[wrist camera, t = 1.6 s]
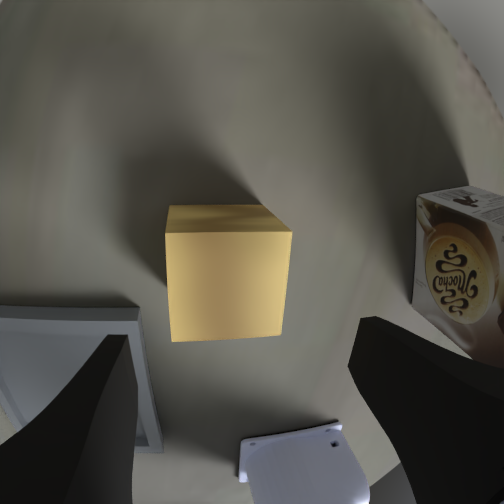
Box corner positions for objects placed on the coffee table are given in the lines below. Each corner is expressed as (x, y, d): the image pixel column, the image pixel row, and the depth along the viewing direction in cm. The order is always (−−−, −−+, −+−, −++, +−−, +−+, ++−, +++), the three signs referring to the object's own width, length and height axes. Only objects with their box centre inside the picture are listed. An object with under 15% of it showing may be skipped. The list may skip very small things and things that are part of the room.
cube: (262, 204, 18) (292, 231, 13) (256, 287, 19) (280, 335, 15) (169, 204, 16) (165, 233, 12) (172, 290, 18) (171, 341, 14)
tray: (139, 307, 18) (137, 321, 17) (163, 439, 22) (163, 453, 21) (-30, 303, 15) (-40, 314, 14) (26, 428, 20) (22, 440, 18)
